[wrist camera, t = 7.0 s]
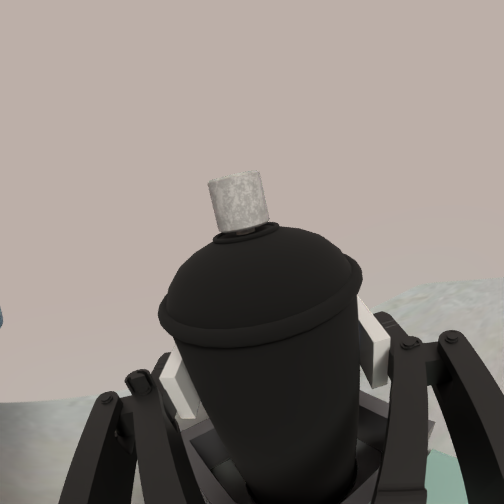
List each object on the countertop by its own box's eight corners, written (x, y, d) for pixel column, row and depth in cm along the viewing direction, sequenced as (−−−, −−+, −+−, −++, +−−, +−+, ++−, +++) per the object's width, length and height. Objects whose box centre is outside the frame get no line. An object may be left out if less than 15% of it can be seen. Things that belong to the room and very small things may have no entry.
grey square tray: (190, 466, 17) (169, 437, 16) (308, 395, 23) (303, 361, 22) (284, 576, 6) (272, 572, 5) (421, 455, 12) (435, 422, 11)
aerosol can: (341, 525, 9) (321, 144, 5) (227, 501, 13) (81, 218, 8) (366, 437, 16) (352, 155, 12) (271, 428, 20) (205, 186, 15)
